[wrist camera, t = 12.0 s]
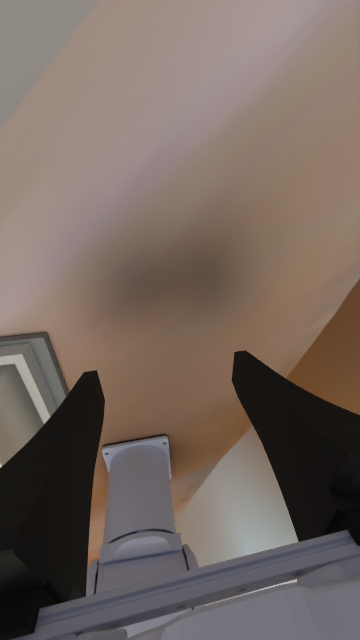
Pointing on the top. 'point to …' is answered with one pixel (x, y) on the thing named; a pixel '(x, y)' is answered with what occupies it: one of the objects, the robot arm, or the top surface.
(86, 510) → the robot arm
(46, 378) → the stepped grey tray
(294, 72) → the top surface
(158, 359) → the top surface
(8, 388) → the long cream rectangular block
